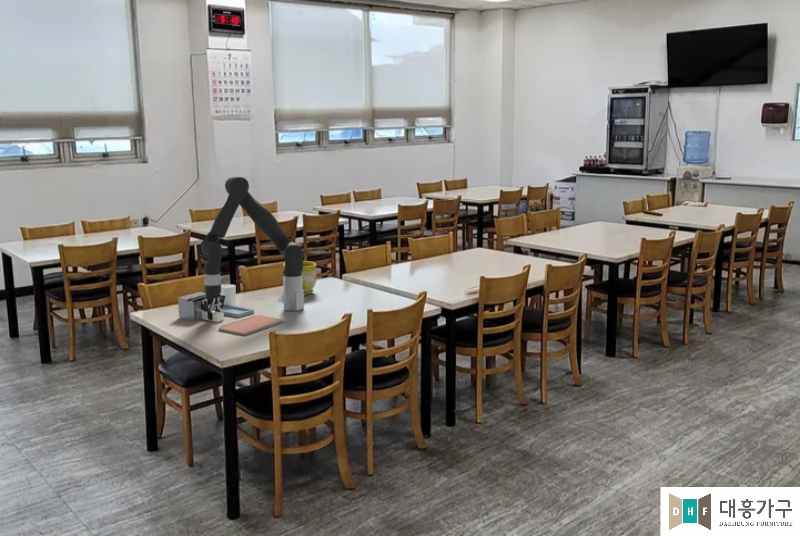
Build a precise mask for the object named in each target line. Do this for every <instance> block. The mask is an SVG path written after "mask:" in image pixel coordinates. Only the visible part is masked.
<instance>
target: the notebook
mask: <svg viewBox="0 0 800 536" xmlns="http://www.w3.org/2000/svg"><path fill="white" fill-rule="evenodd" d="M284 321H285V319H283V318H278V317H272V316H267V315H263V314H261V315H260V314H258V315H257V314H256V315H255V314H254V315H251V316H249V317H245V318H242V319H238V320H237V321H233V322H229V323H227V324H223V325H221V326H219V327H218V331H220V332H225V333H229V334H234V335H240V336H244V335H245V336H247V335H251V334H254V333H256V331H257V332H260V331H262V330H265V329H267V328H271V327H274V326H277V325H279V324H282V323H284Z"/></svg>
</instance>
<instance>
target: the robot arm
mask: <svg viewBox="0 0 800 536" xmlns="http://www.w3.org/2000/svg"><path fill="white" fill-rule="evenodd" d="M224 187H225V192H226V193H227V194H228V197H227V198H226V201H225V203H224V205H223V206H222V208H221V209H220V210H219V212H218V214H217V215H216V217H215V220H214V221H213V224H212V226H211V228H210V230H209V232H208V233H207V234H206V236H205V237H204V238H203V240H202V242H201V245H200V251H201V253H202V254H203V255H206V256H208V258H207V260H206V261H205V262H204V264H203V266H204V277H203V278H204V279H203V281H204V282H203V284H204V293H205V294H206V298H205V299H204V300H201V303H202V307H203V310H204V311H205V312H207V315H208V320H207V321H210V320H213V316H212V309H213V307H214V306H215V309H216V310H215V311H216V312H217V311H218V312H220V309H221V308H223V306H224V301H225V296H224V295H221V294H220V293H221V285H222V276H221V261H222V256H223V246H222V245H221V243H220V242H219V241H220V240H221V239H224V238H225V236H226V235H227V232H228V230H229V228H230V225H231V223H232V221H233V218H234V216H235V214H236V212H237V210H238V208H239V206H240V207H241V208H242V209H243V211H244V212H245V213H246V214H247V216H248V217H249V218H250V219H251V221H253V223H254V224H255V225H256V227H257V228H258V229H259V230H260V231H261V232H262V233H263V234H264V235H265V236H266V238H268V239H269V240H270V241H271V242H272V243H273V245H274V246H275V247H276V249H277V251H278V252H279V254H280V255H281V257H282V258H283V259H284V263H285V269H284V268H283V270H282V278H283V279H282V285H283V286H282V289H283V293H282V294H283V295H282V296H283V310H284V311H288V312H298V311H301V310H304V309H305V296H304V290H302V270H303V261H304V251H303V247H301V246H300V245H299V244H297V243H295V242H294V241H292V240H291V238H289V237H288V235H287V234H286V233H285V231H284V230H283V229H282V227H281V224H280V222H278V221H279V220H277V219H276V217H275V216H274V215H273V213H272V212H271V211H270V210H269V209H268V208H267V207H266V206H265V205H264V204H262V203H261V202H259V201H258V200H257V199H256V198H254V196H252V194H251V193H250V192H249V188H250V184H249V181H248V180H247V179H246V177H243V176H233V177H229V178H227V180H226V181H225V184H224ZM209 304H210V305H211V306H210V305H209ZM209 308H210V310H209Z"/></svg>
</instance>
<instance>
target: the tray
mask: <svg viewBox="0 0 800 536" xmlns="http://www.w3.org/2000/svg"><path fill="white" fill-rule="evenodd" d="M220 312H222V313H224V316H226V317H227V316H228V317H232V318H236V319H239V318H244V317H245V316H249V315H253V314H254V313H255V309H253V308H248V307H242V306H236V305H234V306H232V305H227V304H224V306H223V308H221V309H220Z"/></svg>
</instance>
